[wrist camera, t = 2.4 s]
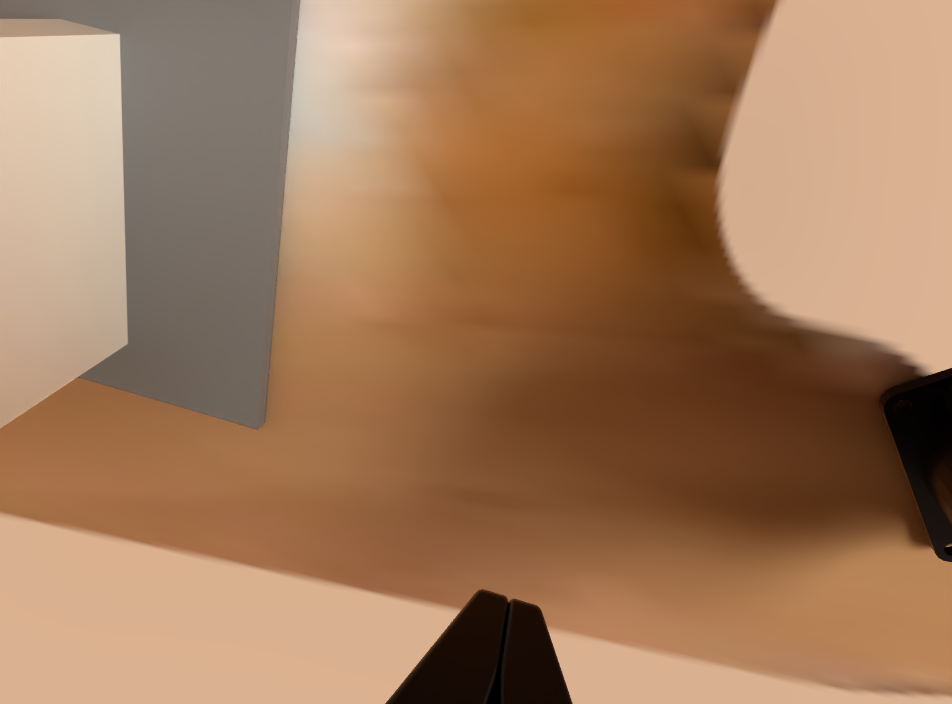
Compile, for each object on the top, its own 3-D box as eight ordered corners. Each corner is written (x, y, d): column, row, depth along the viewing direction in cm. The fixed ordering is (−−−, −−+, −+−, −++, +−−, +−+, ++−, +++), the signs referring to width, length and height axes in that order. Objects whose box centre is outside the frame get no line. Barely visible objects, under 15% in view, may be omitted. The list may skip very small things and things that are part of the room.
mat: (300, -3, 18) (292, -3, 18) (264, 422, 25) (258, 429, 24) (-295, -150, 20) (-315, -154, 19) (-182, 292, 26) (-196, 297, 26)
